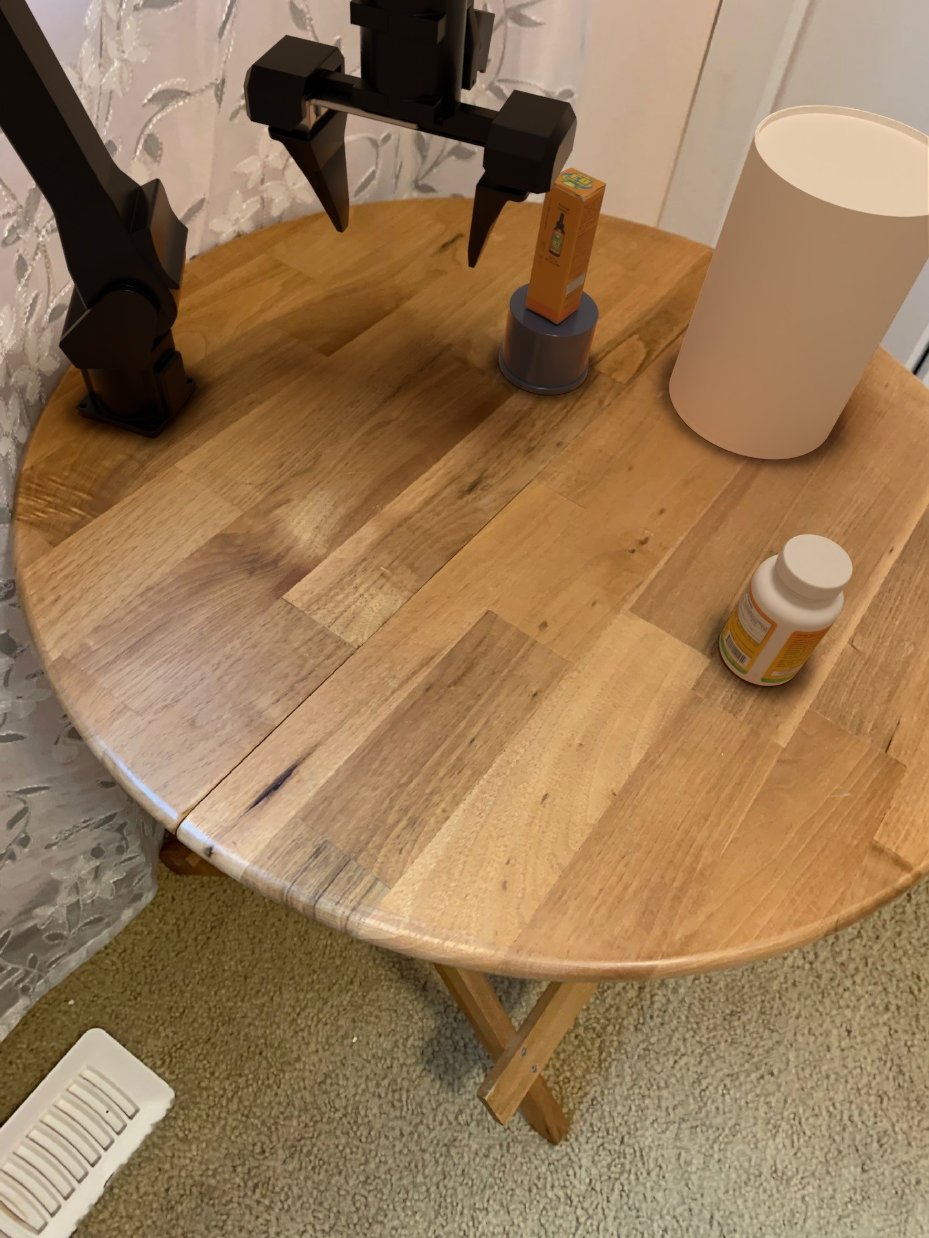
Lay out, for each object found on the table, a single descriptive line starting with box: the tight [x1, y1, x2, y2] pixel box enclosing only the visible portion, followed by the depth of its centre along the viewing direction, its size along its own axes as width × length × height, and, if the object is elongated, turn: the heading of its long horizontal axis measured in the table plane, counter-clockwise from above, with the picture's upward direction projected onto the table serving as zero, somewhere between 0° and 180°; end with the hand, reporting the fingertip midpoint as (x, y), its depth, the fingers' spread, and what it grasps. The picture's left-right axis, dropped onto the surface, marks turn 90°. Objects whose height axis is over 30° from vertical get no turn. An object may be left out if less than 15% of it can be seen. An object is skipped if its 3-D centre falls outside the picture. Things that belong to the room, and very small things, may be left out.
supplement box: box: [525, 167, 607, 324], centre depth 65 cm, size 3×3×10 cm
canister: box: [668, 104, 929, 460], centre depth 65 cm, size 14×14×20 cm
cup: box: [498, 282, 600, 396], centre depth 71 cm, size 8×7×6 cm
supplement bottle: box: [718, 533, 854, 687], centre depth 54 cm, size 5×5×10 cm
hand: (407, 246), depth 59 cm, fingers open, 9 cm apart
